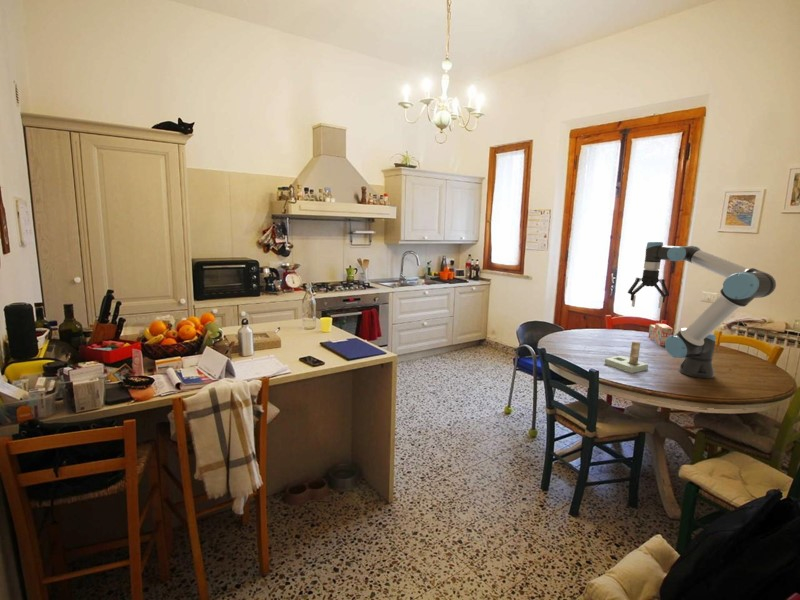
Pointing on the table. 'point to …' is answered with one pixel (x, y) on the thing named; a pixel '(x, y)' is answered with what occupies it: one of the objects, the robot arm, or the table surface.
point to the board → (625, 364)
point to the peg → (634, 353)
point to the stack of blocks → (660, 333)
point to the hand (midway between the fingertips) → (646, 307)
